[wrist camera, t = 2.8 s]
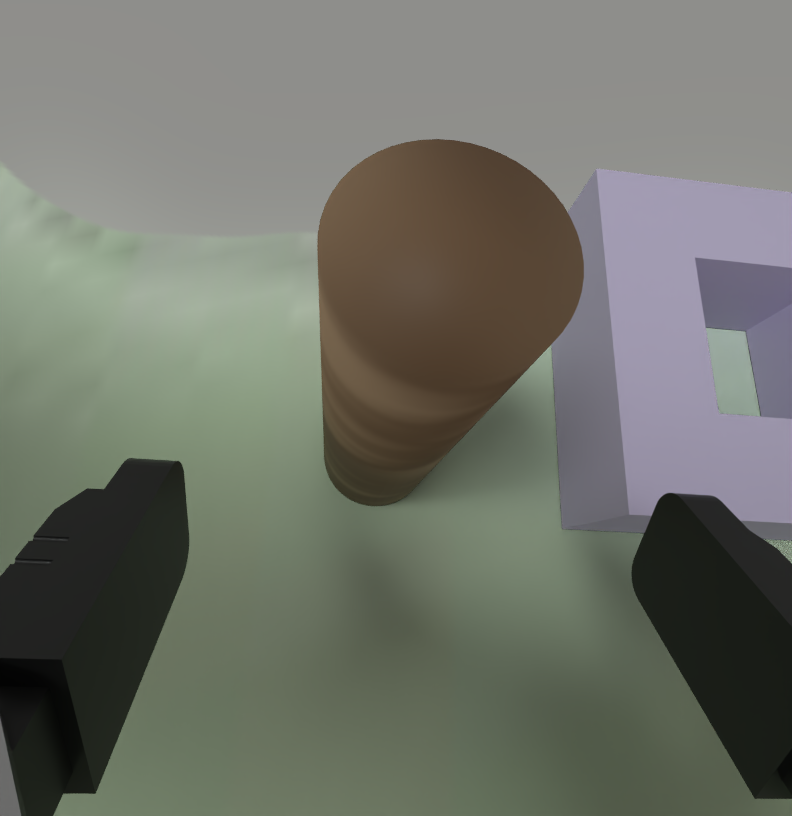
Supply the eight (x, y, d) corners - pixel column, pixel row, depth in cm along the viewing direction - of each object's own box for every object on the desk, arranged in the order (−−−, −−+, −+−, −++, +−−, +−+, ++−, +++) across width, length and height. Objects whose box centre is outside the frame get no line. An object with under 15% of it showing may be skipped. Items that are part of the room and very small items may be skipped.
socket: (562, 529, 21) (629, 514, 16) (545, 245, 25) (596, 168, 20) (860, 543, 22) (1001, 534, 18) (800, 272, 26) (902, 206, 22)
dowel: (320, 503, 20) (306, 362, 7) (328, 403, 22) (328, 124, 8) (424, 508, 21) (593, 386, 8) (426, 410, 22) (574, 155, 9)
